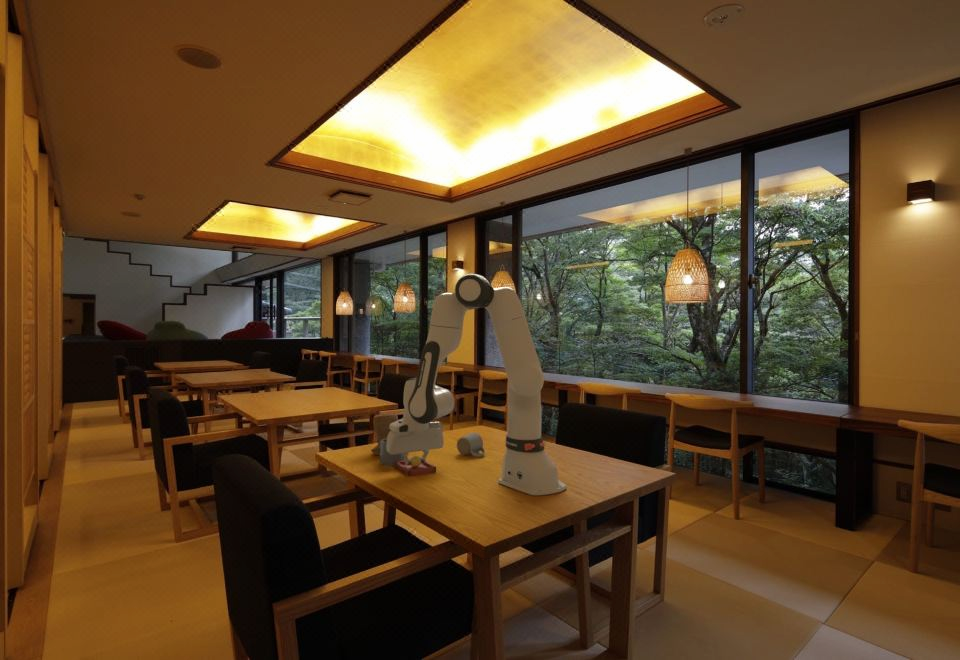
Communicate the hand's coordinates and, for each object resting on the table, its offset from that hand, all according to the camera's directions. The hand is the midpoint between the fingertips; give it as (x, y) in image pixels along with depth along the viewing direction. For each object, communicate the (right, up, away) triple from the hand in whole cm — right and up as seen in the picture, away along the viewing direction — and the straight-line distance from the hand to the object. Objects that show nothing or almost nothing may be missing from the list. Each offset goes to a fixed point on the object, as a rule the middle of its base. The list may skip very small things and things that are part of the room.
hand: (415, 463), depth 167 cm
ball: (0, +1, 0) cm, 1 cm away
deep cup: (-9, -2, +8) cm, 12 cm away
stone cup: (-14, -2, +22) cm, 26 cm away
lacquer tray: (0, -2, 0) cm, 2 cm away
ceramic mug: (+19, -2, +21) cm, 29 cm away
